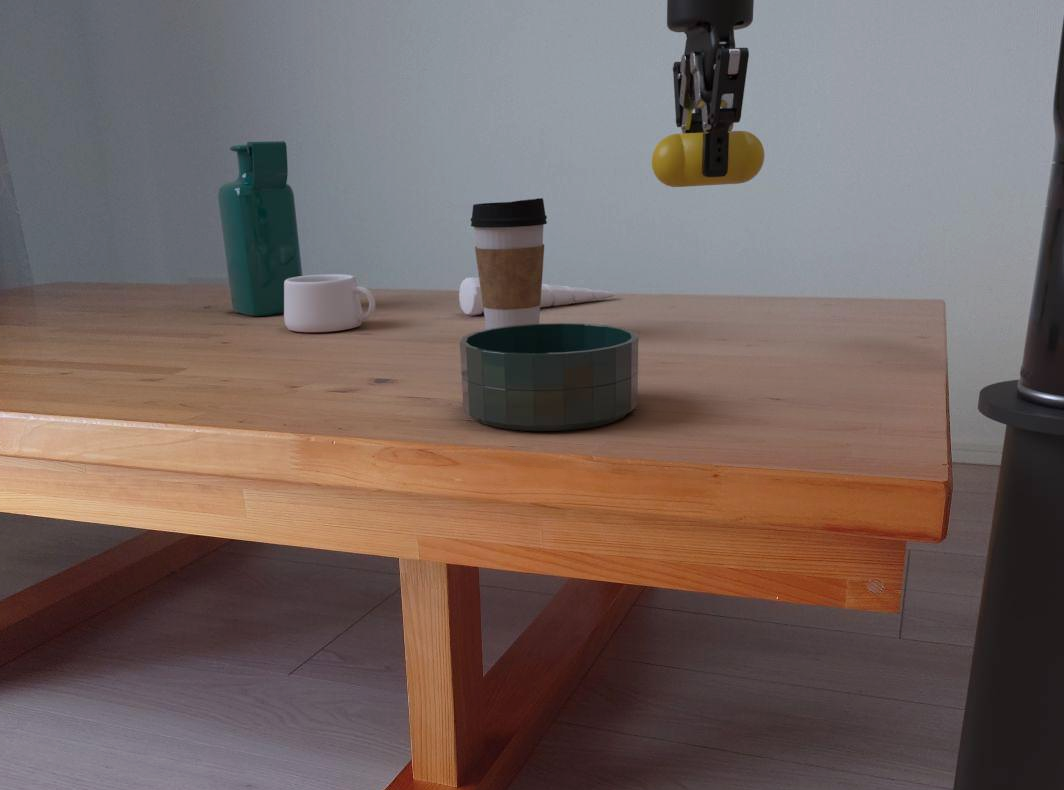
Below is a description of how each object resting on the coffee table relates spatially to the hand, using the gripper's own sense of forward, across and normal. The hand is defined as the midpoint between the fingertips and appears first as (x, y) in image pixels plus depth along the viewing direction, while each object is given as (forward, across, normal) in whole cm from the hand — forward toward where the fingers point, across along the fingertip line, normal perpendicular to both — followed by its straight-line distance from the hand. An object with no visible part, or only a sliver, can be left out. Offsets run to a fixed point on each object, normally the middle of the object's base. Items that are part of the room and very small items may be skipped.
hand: (705, 175), depth 94 cm
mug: (+17, +33, +36) cm, 52 cm away
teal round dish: (+17, -17, +18) cm, 30 cm away
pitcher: (+17, +51, +45) cm, 70 cm away
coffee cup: (+17, +19, +16) cm, 30 cm away
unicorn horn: (+17, +41, +9) cm, 46 cm away
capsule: (0, -2, 0) cm, 2 cm away
